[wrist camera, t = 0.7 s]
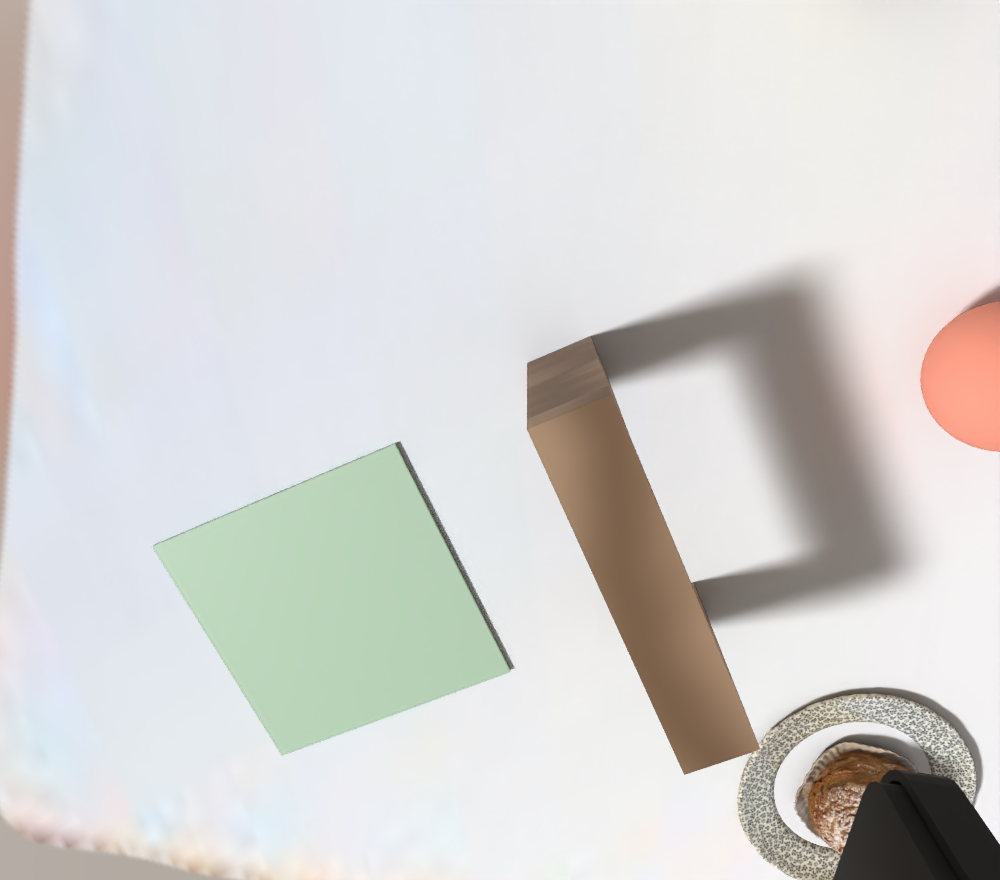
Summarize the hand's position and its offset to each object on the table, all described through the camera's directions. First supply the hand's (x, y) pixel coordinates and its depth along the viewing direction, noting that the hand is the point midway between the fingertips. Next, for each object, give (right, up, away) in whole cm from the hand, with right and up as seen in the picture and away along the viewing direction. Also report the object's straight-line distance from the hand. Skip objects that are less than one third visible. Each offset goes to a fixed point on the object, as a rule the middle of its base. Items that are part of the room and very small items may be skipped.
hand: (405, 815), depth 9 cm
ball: (+21, +6, +25) cm, 33 cm away
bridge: (+7, +1, +30) cm, 31 cm away
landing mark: (-7, -4, +32) cm, 34 cm away
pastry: (+19, -14, +36) cm, 43 cm away
